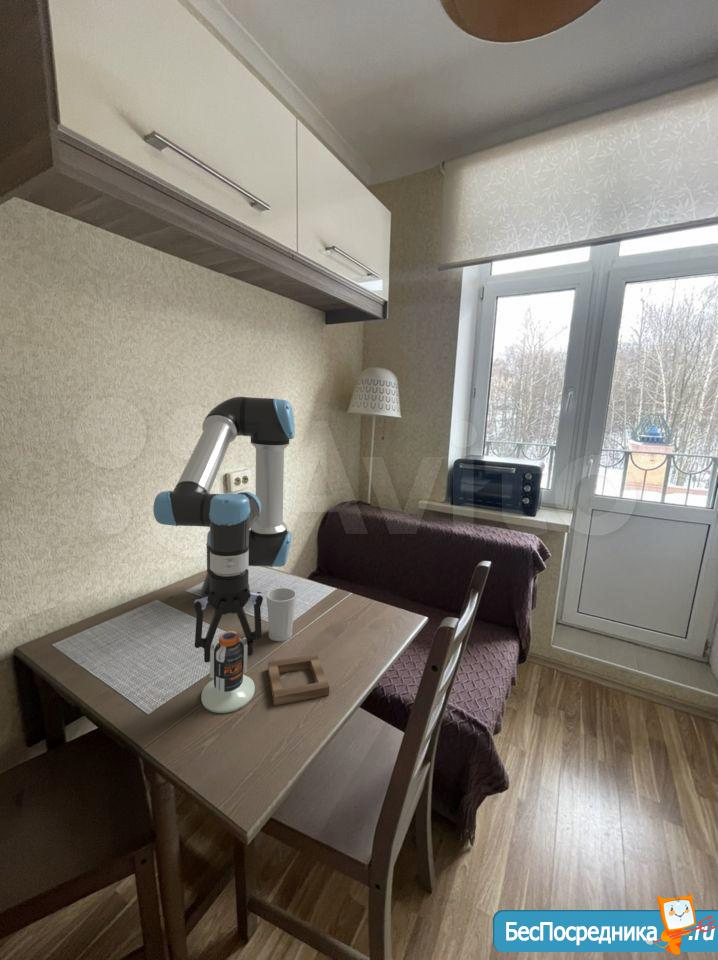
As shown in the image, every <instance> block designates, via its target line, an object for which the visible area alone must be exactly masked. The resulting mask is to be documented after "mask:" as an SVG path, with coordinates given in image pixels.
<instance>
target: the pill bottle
mask: <svg viewBox="0 0 718 960" xmlns="http://www.w3.org/2000/svg"><path fill="white" fill-rule="evenodd" d="M243 675H244V673H243V641H241V640H240V634H239V633H238V632H237V631H234V630H228V631H224V632H222V633H220V634H219V638H218V643H217V644H215V646H214V678H213V679H214V687H215V688H216V689H217V690H218V691H221V692H230V691H233V690H235V689H237V688H238V687H239V686H240V685H241V684H242V682H243Z"/></svg>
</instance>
